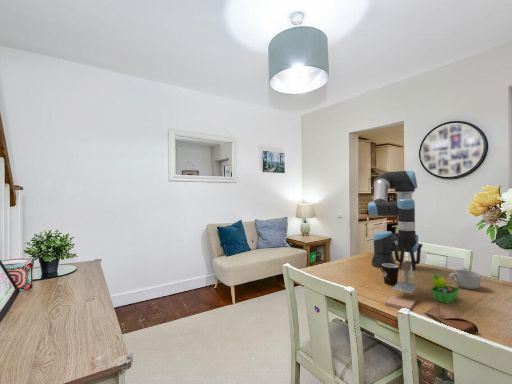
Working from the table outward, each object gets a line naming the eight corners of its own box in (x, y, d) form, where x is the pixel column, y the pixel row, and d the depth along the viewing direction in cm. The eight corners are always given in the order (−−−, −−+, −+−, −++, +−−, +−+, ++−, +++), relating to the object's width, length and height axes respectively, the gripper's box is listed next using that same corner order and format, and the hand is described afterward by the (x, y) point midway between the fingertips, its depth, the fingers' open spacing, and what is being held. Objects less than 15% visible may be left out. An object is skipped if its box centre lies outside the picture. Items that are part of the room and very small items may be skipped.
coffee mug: (401, 286, 140) (401, 268, 140) (384, 285, 142) (384, 267, 142) (394, 279, 151) (394, 262, 151) (378, 278, 153) (378, 261, 153)
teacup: (475, 284, 139) (474, 270, 139) (486, 292, 129) (485, 276, 129) (444, 282, 144) (444, 268, 144) (453, 289, 133) (452, 274, 133)
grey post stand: (401, 280, 135) (401, 260, 135) (419, 283, 130) (418, 262, 130) (392, 289, 124) (392, 267, 124) (411, 293, 118) (411, 270, 118)
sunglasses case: (420, 312, 110) (427, 298, 111) (433, 319, 111) (440, 305, 112) (458, 335, 92) (466, 319, 93) (473, 344, 93) (481, 327, 94)
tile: (391, 295, 126) (385, 302, 118) (415, 300, 119) (409, 308, 112) (391, 299, 126) (385, 305, 118) (415, 304, 119) (410, 312, 112)
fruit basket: (449, 305, 116) (448, 280, 116) (427, 298, 124) (427, 275, 124) (459, 299, 122) (459, 275, 122) (438, 293, 130) (438, 270, 130)
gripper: (387, 229, 132) (388, 275, 132) (423, 232, 121) (425, 281, 121) (391, 227, 138) (392, 271, 138) (427, 230, 127) (428, 277, 127)
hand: (407, 276), depth 129 cm, fingers closed on grey post stand, 3 cm apart
